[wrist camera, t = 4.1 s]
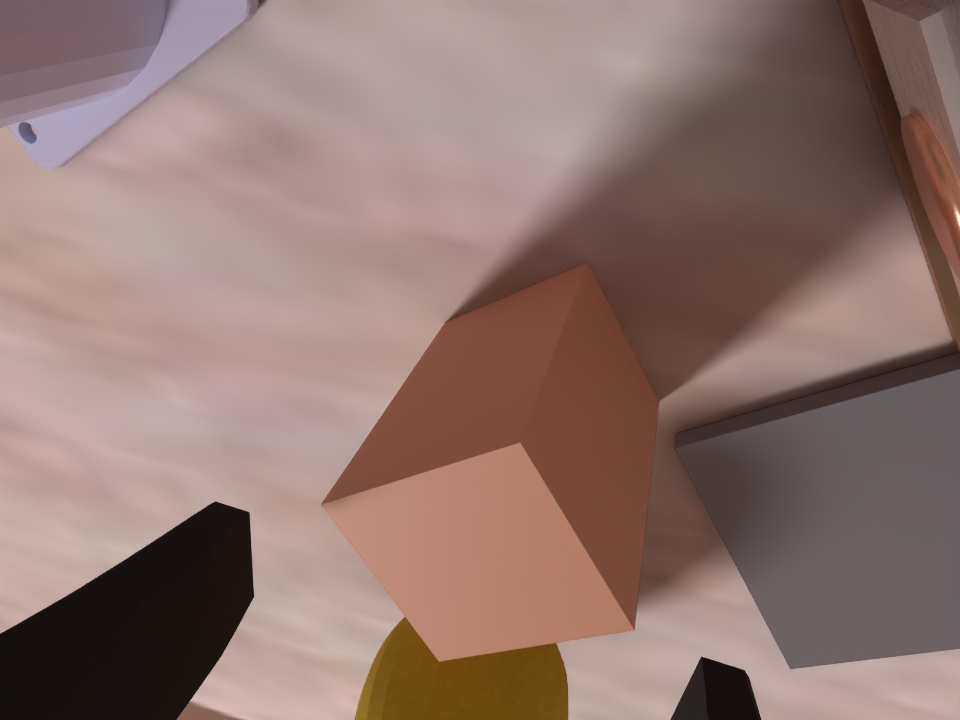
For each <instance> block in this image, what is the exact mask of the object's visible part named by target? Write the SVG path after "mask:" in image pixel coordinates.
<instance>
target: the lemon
mask: <svg viewBox="0 0 960 720" xmlns="http://www.w3.org/2000/svg"><path fill="white" fill-rule="evenodd" d="M355 720H568V683H567V674H566V670H565V666H564V662H563V660H562V657H561V654H560V652H559V649H558V647H557V644H556V643H552V644H545V645H539V646H533V647H527V648H520V649H514V650H508V651H502V652H495V653H489V654H483V655H477V656H470V657H464V658H458V659H451V660H445V661H438V660H437V658H436V657H435V656H434V654H433V653H432V652H431V650H430V649H429V648H428V646H427V645H426V644H425V642H424V641H423V640H422V638H421V637H420V636H419V634H418V633H417V632H416V630H415V629H414V628H413V626H412V625H411V624H410V622H409V621H408V620H407V618H406V617H404V618H403V619H402V620H401V621H400V622H399V624H398V625H397V626H396V627H395V628H394V629H393V630H392V632H391V633H390V634H389V636H388V637H387V638H386V640H385V641H384V643H383V645H382V646H381V648H380V650H379V651H378V653H377V655H376V657H375V659H374V661H373V664H372V666H371V669H370V671H369V674H368V676H367V679H366V682H365V684H364V687H363V690H362V693H361V696H360V700H359V703H358V707H357V711H356V716H355Z"/></svg>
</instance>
